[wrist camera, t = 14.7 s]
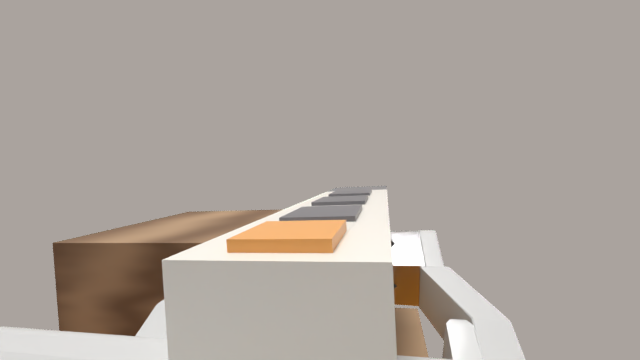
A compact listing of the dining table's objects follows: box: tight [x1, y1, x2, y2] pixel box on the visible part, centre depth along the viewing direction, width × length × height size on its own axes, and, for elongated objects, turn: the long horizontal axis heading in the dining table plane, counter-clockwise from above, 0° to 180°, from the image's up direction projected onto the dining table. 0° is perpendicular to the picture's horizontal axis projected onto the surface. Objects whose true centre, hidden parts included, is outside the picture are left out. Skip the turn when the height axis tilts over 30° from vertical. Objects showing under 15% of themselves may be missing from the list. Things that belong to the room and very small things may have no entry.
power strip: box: [162, 186, 397, 360], centre depth 17 cm, size 4×24×4 cm, turn 168°
